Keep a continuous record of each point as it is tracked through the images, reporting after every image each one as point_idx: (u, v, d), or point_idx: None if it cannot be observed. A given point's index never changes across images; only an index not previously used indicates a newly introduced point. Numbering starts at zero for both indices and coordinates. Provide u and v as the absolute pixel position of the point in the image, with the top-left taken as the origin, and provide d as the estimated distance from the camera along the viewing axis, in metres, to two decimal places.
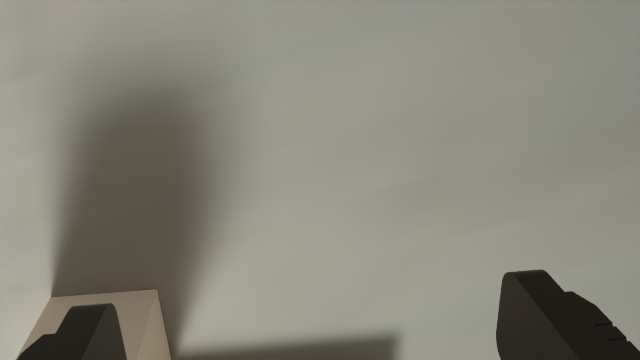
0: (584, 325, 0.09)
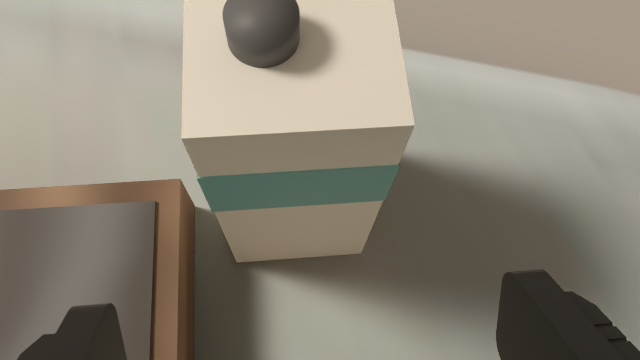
0: (584, 325, 0.09)
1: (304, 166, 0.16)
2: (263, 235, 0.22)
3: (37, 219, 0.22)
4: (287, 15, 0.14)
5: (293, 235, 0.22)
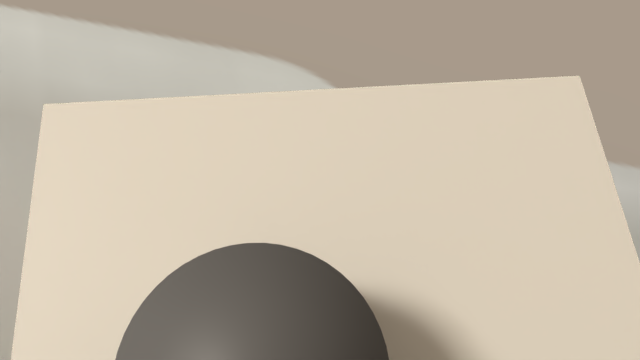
0: None
1: None
2: None
3: None
4: None
5: None
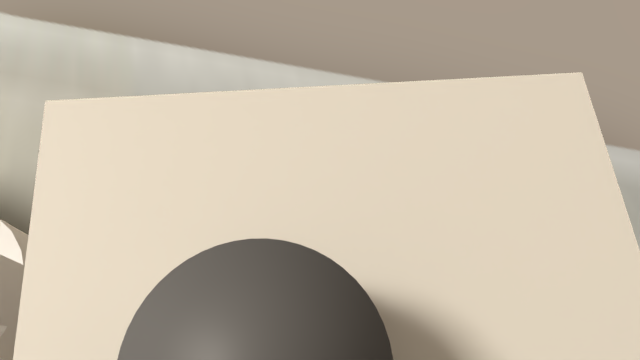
0: None
1: None
2: None
3: None
4: None
5: None
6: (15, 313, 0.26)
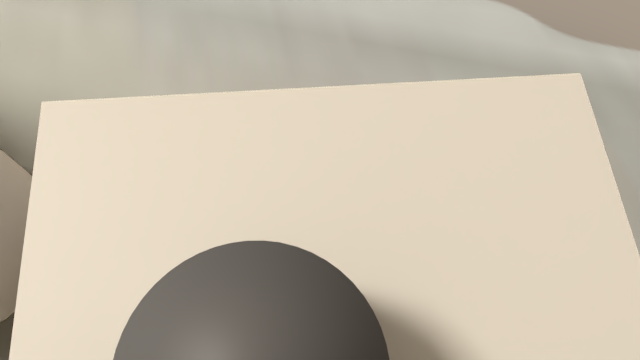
0: None
1: None
2: None
3: None
4: None
5: None
6: None
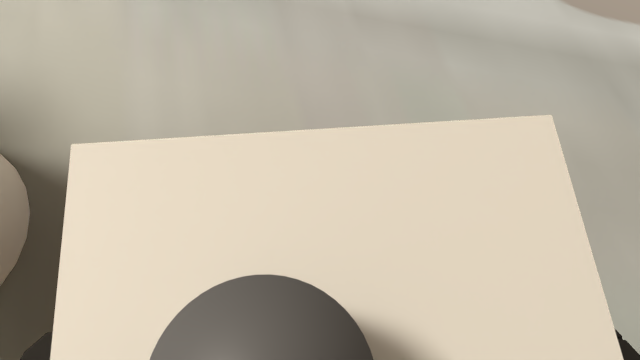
0: None
1: None
2: None
3: None
4: None
5: None
6: None
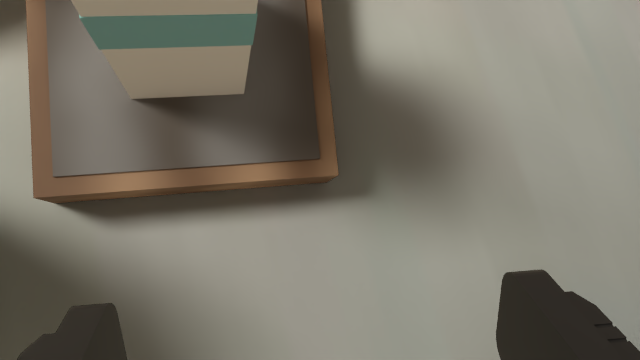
0: (584, 325, 0.09)
1: (174, 11, 0.19)
2: (151, 73, 0.25)
3: None
4: None
5: (178, 75, 0.25)
6: None
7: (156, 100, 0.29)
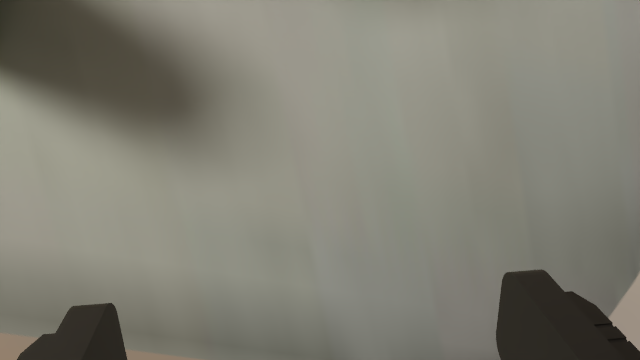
0: (584, 325, 0.09)
1: None
2: None
3: None
4: None
5: None
6: None
7: None
